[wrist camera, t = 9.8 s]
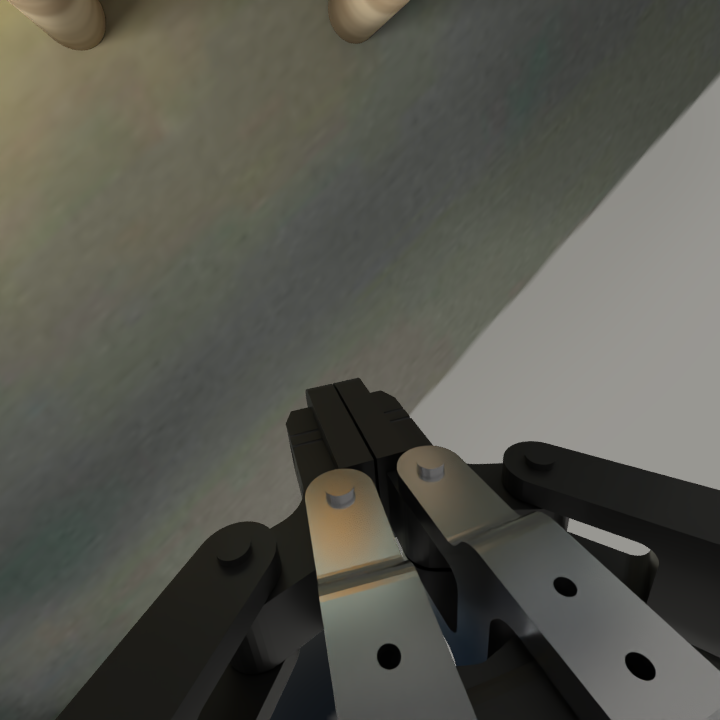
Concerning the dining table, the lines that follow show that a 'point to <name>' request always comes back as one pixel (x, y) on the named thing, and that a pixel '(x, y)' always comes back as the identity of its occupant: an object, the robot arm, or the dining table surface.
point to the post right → (361, 17)
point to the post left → (67, 20)
